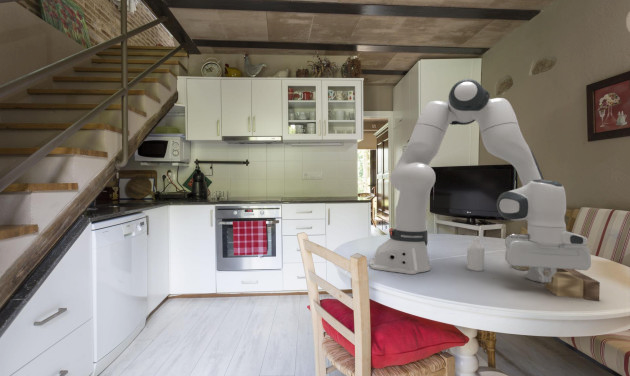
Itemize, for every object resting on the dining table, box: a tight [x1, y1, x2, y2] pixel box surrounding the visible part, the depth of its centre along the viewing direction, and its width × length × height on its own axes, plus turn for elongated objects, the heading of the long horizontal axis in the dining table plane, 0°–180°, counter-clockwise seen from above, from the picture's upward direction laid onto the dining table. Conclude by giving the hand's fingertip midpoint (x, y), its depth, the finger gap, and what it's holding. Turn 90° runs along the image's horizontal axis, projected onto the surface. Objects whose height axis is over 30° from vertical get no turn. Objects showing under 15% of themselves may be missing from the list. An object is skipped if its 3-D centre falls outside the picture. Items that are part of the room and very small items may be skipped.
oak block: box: [544, 271, 584, 299], centre depth 85 cm, size 6×7×5 cm
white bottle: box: [466, 236, 485, 272], centre depth 108 cm, size 6×12×6 cm
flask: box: [525, 267, 549, 284], centre depth 96 cm, size 7×7×10 cm
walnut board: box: [556, 268, 601, 302], centre depth 89 cm, size 3×20×5 cm, turn 164°
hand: (545, 282), depth 86 cm, fingers closed
